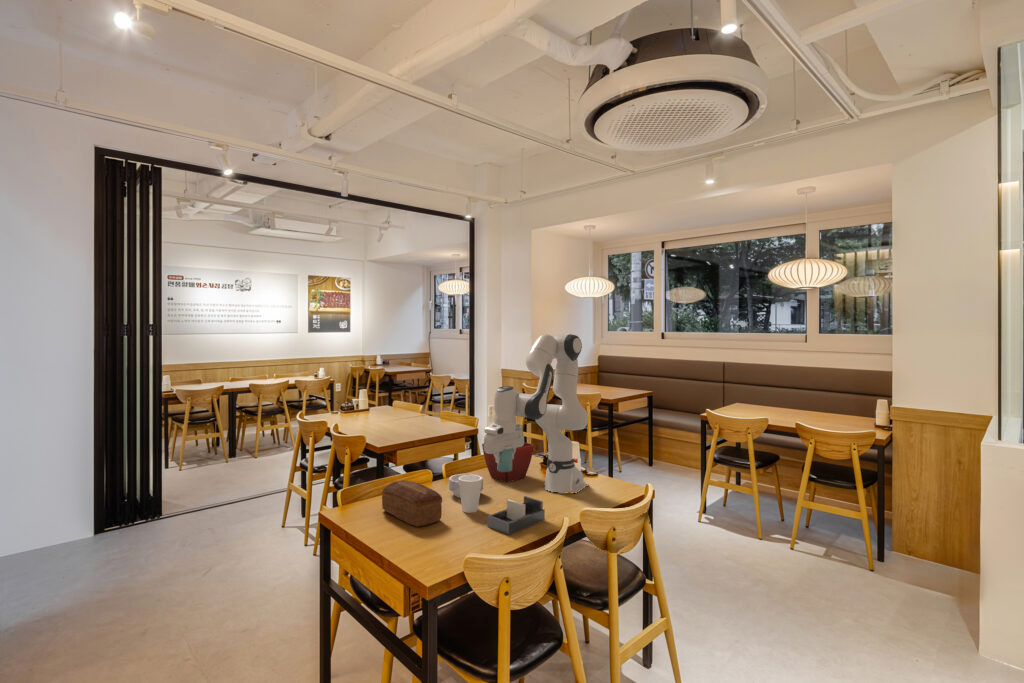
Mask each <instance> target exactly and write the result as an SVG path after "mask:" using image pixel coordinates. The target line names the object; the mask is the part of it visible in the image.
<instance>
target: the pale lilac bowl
mask: <svg viewBox="0 0 1024 683" xmlns="http://www.w3.org/2000/svg"><path fill="white" fill-rule="evenodd" d="M464 475H477V476H480V477H482V485H481V490H480V492H482V491H483V490H484V477H483V476H482V475H478V474H474V473H458V474H454V475H451V476H450V477H449V478H448V490H449V491H451V492H452V494H453V495H454V496H455V497H456V498H459V499H461V496H460V487H459V477H460V476H464Z"/></svg>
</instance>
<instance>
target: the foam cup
mask: <svg viewBox="0 0 1024 683" xmlns="http://www.w3.org/2000/svg"><path fill="white" fill-rule="evenodd" d="M477 475H478V474H475V475H464V476H460V477H459V487H460V496H461V498H460V502H461V511H462V512H463V513H467V514H470V513H471V512H473V513H476V512H478V510H479V503H480V495H481V491H480V490H481V485H482V477H483V476H481V475H479V476H477ZM480 476H481V477H480ZM471 514H472V513H471Z"/></svg>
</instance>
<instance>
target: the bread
mask: <svg viewBox="0 0 1024 683" xmlns="http://www.w3.org/2000/svg"><path fill="white" fill-rule="evenodd" d="M381 501H382V503H381V504H382V505H381V506H382V509H383V510H384V511H385V512H386V513H387V512H388V513H387V514H390V515H392V516H394V517H396V519H398V520H401V521H403V522H405V523H407V524H408V525H410V526H413V527H424V526H427V525H431V524H434V523H437V522H438V521H440V520H441V519H442V515H443V514H442V512H443V511H442V508H443V507H442V503H443V497H442V496H441V494H440V493H439V492H437V491H436V490H434V489H432V488H430V487H428V486H426V485H424V484H421V483H417V482H413V481H411V480H410V481H409V480H405V479H404V480H402V479H401V480H396V481H393V482H391V483H390V484H388V485H386V486H385V487H384V488H383V490H382V491H381Z"/></svg>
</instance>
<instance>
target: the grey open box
mask: <svg viewBox="0 0 1024 683" xmlns="http://www.w3.org/2000/svg"><path fill="white" fill-rule="evenodd" d="M521 503H522V502H521ZM522 504H525V516H524V517H521V518H519V519H516V520H512V519H509V518H507V508H506V509H502V510H500V511H497V512H494V513H492V514H489V515H487V516H486V517H487V521H486V523H487V524H486V526H487V527H488V528H490V529H493V530H495V531H498V532H500V533H503V534H504V535H507V536H510V535H513V534H514V533H518V532H520V531H521V530H524V529H526V528H529V527H532V526H534V525H536V524H539V523H542V522H544V521H545V520H546V518H545V516H546V515H545V513H546V512H545V509H543V506H544V502H543V501H542V500H539V499H537V498H536V499H535V498H533V497H529V496H527V495H525V496H523V503H522ZM543 520H544V521H543Z"/></svg>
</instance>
